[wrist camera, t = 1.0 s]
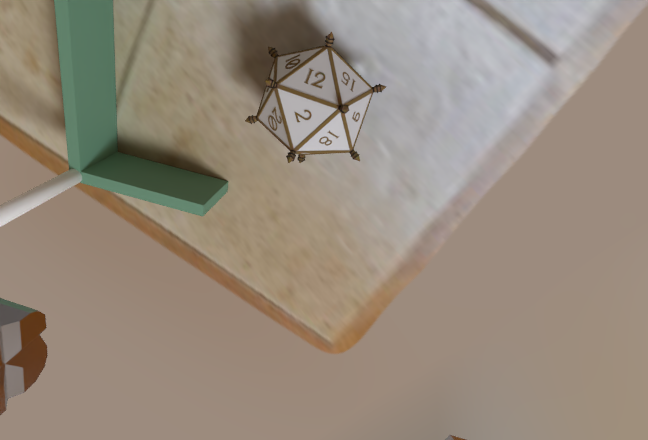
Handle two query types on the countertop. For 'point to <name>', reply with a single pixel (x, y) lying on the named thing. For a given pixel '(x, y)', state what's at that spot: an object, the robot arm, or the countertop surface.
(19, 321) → the robot arm
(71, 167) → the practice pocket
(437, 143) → the countertop surface
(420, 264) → the countertop surface
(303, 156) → the game die
